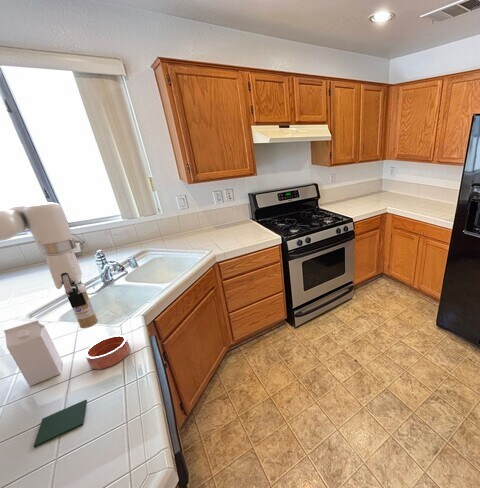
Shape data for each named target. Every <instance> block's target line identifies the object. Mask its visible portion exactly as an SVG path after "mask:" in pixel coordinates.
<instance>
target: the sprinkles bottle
mask: <svg viewBox="0 0 480 488" xmlns="http://www.w3.org/2000/svg"><path fill="white" fill-rule="evenodd" d="M78 286H79V289H80V293H81V292H82V294H83V296H84V299H85V301H86V305H83V306H79V307H76V308H72V311H73V313H74V316H75V318H76V320H77V323H78V325H79V328H80V329H88V328H91V327H94V326H95V325H96V324H98V322H99V319H98V318H97V316H96V311H95V309H94V307H93V304H92V302H91V300H90V296H89V294H88V292H87V287H86V285H85V284H78ZM73 288H75V286H74V287H73ZM75 289H76V288H75ZM64 293H65V295H66V296H67V294H66V291H65V290H64Z"/></svg>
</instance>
